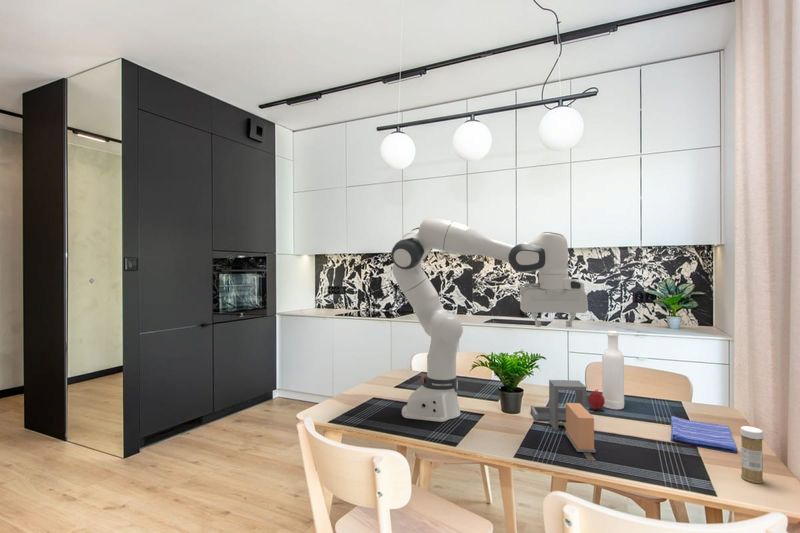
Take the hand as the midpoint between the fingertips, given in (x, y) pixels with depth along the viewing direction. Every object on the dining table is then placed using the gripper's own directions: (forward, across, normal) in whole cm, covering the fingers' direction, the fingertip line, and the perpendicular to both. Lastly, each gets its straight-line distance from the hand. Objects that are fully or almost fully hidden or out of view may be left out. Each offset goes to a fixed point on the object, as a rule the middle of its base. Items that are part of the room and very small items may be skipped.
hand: (553, 326), depth 135 cm
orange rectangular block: (+37, +8, +1) cm, 38 cm away
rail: (+37, +8, +4) cm, 38 cm away
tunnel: (+37, +8, +15) cm, 41 cm away
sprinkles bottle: (+37, +46, -18) cm, 62 cm away
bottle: (+37, +32, +39) cm, 63 cm away
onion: (+37, +24, +34) cm, 56 cm away
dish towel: (+38, +50, +12) cm, 64 cm away
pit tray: (+37, +8, +24) cm, 45 cm away
